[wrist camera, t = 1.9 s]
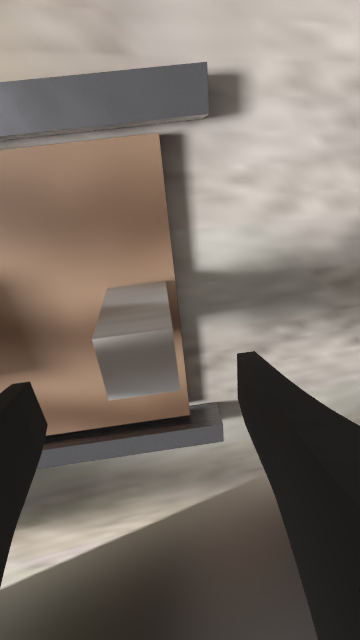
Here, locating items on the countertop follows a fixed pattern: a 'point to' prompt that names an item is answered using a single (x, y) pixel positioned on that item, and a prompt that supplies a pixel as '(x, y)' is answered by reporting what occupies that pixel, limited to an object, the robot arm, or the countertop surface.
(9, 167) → the sliding panel with handle
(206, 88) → the guide rails
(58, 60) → the countertop surface
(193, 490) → the countertop surface
